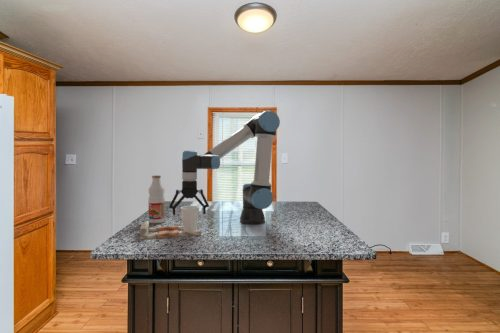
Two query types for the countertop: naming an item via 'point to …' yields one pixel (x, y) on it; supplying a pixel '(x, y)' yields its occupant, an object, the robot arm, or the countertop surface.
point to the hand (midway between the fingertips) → (189, 220)
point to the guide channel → (164, 231)
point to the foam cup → (190, 218)
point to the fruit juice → (156, 201)
